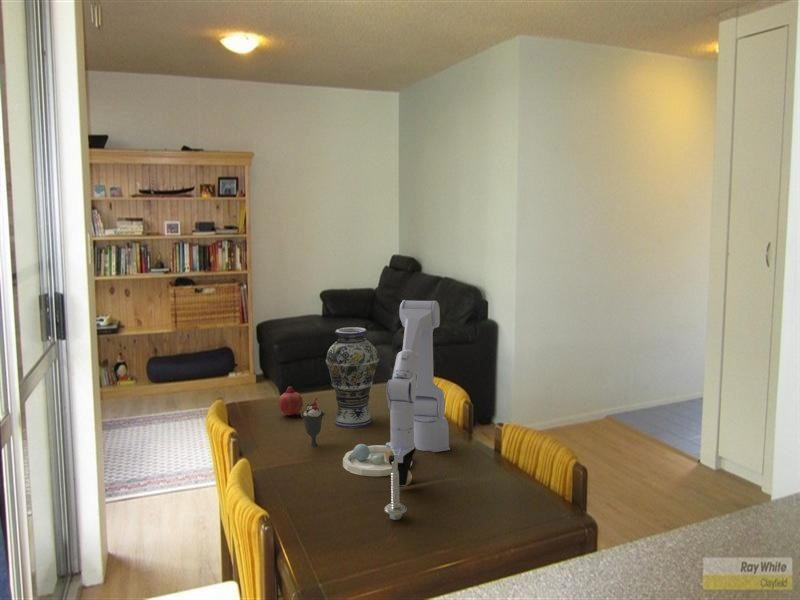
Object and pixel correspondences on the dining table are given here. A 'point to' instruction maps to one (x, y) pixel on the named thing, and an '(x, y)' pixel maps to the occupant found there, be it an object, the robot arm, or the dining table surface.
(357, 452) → the bead blue
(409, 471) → the bead birch
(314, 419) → the sundae
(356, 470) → the tray
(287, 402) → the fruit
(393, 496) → the screw
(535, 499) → the dining table surface
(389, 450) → the bead oak
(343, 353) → the vase
